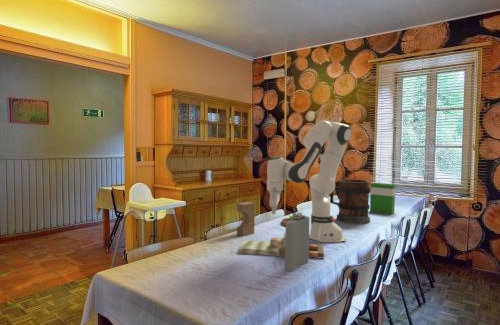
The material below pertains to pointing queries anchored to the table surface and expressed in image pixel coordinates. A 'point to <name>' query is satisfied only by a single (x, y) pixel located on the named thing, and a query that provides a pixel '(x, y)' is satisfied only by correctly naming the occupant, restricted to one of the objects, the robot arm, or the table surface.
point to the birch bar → (276, 242)
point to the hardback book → (382, 198)
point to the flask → (296, 242)
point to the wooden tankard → (353, 201)
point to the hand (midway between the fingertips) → (274, 212)
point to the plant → (288, 218)
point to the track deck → (275, 249)
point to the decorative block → (246, 218)
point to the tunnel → (284, 240)
